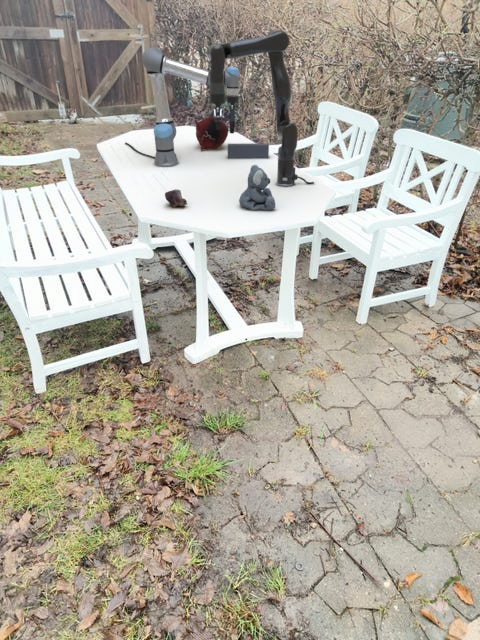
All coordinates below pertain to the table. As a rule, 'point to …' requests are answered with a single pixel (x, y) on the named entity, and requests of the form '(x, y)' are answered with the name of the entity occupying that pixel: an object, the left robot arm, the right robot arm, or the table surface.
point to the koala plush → (257, 191)
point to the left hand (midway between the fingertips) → (232, 131)
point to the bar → (248, 150)
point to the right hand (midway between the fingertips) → (218, 127)
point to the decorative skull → (210, 133)
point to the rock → (175, 198)
